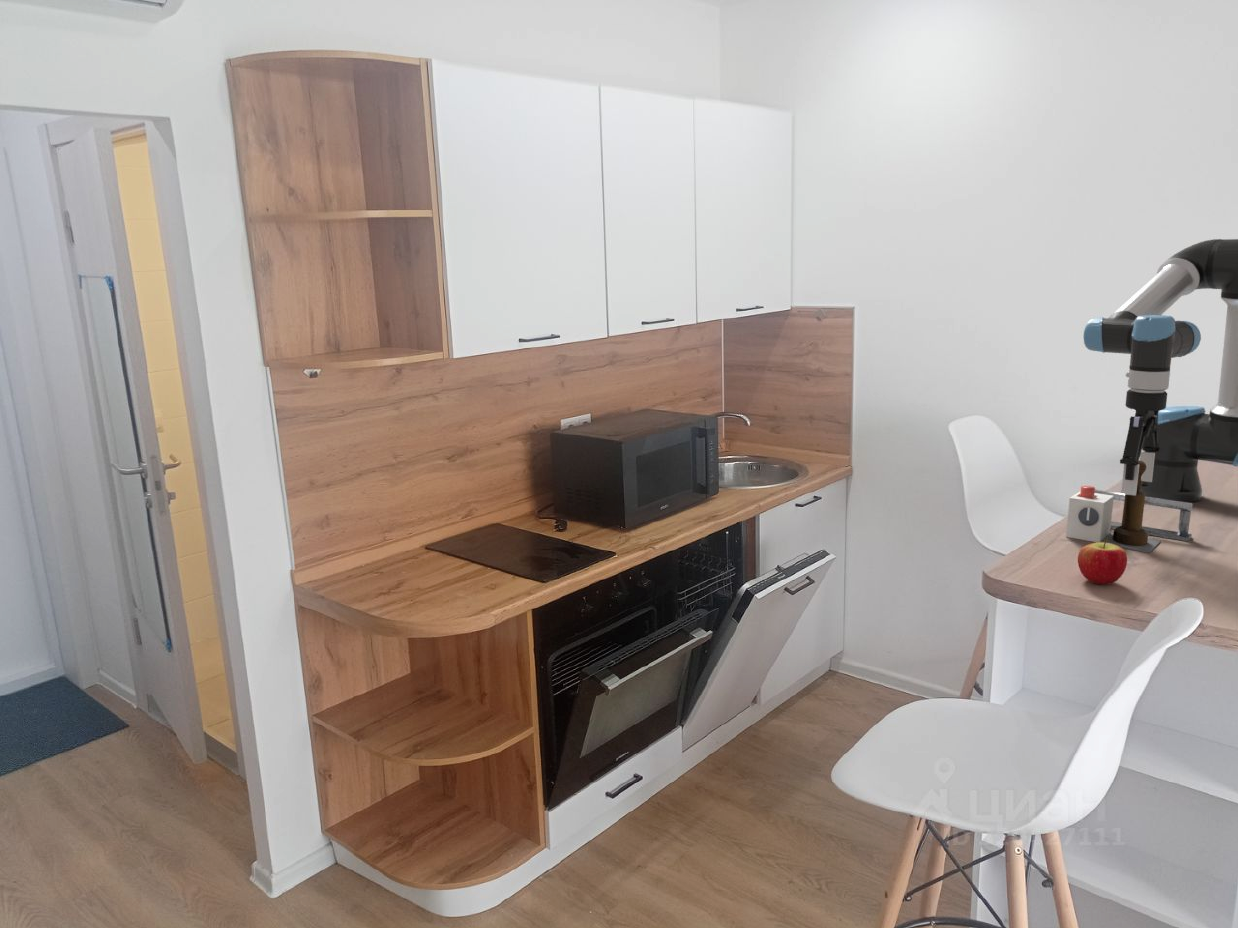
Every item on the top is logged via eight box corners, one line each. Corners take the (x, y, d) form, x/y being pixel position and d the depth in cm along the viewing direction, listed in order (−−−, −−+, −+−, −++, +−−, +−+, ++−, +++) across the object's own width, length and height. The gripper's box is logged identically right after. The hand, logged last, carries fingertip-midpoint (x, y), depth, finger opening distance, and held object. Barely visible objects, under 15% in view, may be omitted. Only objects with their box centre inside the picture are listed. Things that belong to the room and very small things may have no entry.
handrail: (1089, 520, 224) (1093, 487, 222) (1191, 537, 211) (1196, 501, 209) (1085, 524, 222) (1089, 490, 220) (1188, 541, 208) (1192, 505, 206)
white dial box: (1076, 528, 218) (1080, 490, 216) (1109, 534, 214) (1113, 495, 212) (1064, 537, 211) (1068, 498, 210) (1098, 543, 207) (1102, 503, 205)
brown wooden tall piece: (1144, 538, 209) (1153, 458, 205) (1149, 547, 203) (1159, 465, 199) (1110, 535, 211) (1119, 456, 208) (1115, 544, 205) (1124, 463, 202)
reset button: (1081, 504, 214) (1083, 485, 213) (1094, 506, 212) (1096, 487, 211) (1077, 507, 212) (1079, 487, 211) (1090, 509, 210) (1092, 489, 209)
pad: (1110, 533, 214) (1111, 532, 214) (1160, 541, 208) (1160, 540, 208) (1098, 543, 207) (1098, 542, 207) (1149, 552, 201) (1149, 551, 200)
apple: (1088, 590, 179) (1094, 539, 177) (1068, 575, 187) (1073, 526, 185) (1132, 589, 179) (1138, 539, 177) (1109, 574, 187) (1115, 526, 185)
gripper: (1142, 381, 212) (1132, 473, 216) (1111, 396, 193) (1101, 497, 198) (1180, 383, 207) (1169, 478, 212) (1152, 399, 188) (1141, 503, 193)
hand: (1136, 487), depth 205 cm, fingers open, 13 cm apart
